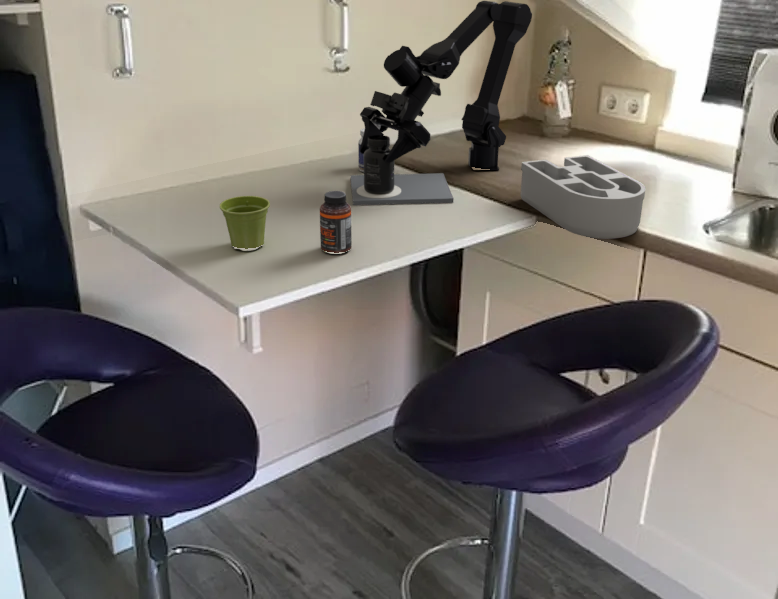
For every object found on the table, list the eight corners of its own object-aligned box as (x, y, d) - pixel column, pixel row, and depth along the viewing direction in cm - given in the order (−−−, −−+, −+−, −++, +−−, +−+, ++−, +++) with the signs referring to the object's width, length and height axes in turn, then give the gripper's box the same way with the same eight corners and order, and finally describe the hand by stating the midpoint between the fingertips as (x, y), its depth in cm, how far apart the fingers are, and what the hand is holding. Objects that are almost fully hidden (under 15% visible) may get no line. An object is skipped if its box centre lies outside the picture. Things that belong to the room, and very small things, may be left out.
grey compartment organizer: (584, 191, 196) (588, 155, 192) (656, 234, 172) (662, 193, 169) (518, 199, 191) (521, 162, 188) (583, 245, 168) (587, 202, 164)
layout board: (443, 177, 205) (443, 172, 204) (453, 202, 189) (453, 197, 188) (350, 179, 204) (350, 174, 203) (353, 205, 187) (352, 199, 187)
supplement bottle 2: (400, 191, 192) (400, 138, 187) (375, 197, 188) (374, 143, 183) (383, 183, 197) (382, 131, 192) (358, 189, 193) (357, 136, 188)
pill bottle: (381, 173, 208) (381, 133, 203) (357, 173, 208) (357, 133, 203) (382, 166, 213) (382, 126, 208) (359, 166, 213) (358, 126, 208)
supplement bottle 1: (314, 252, 164) (312, 195, 159) (332, 241, 168) (330, 186, 163) (340, 258, 161) (338, 201, 156) (357, 248, 166) (357, 191, 161)
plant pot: (277, 252, 164) (274, 209, 160) (227, 258, 161) (224, 215, 157) (266, 235, 172) (264, 193, 168) (219, 240, 169) (215, 198, 165)
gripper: (366, 70, 191) (326, 127, 189) (421, 84, 178) (379, 145, 176) (393, 100, 198) (356, 155, 197) (448, 115, 185) (408, 175, 184)
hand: (373, 157), depth 188 cm, fingers open, 9 cm apart
